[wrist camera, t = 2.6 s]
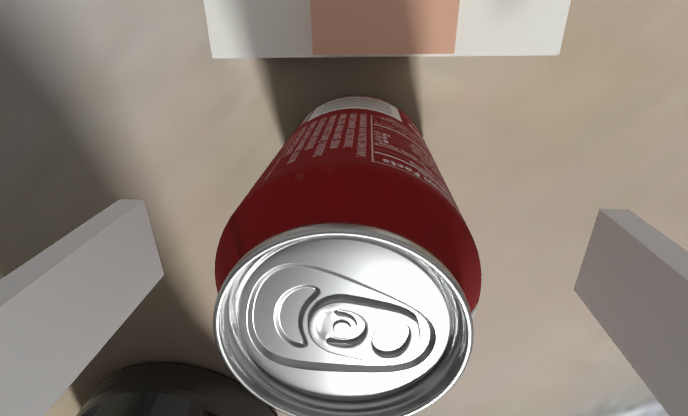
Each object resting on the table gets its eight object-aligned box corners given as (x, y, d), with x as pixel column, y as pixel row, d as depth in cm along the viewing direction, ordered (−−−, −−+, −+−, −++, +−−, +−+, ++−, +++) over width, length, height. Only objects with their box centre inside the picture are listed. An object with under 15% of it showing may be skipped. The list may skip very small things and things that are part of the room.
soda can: (302, 77, 17) (187, 158, 6) (444, 111, 17) (569, 245, 7) (281, 206, 20) (178, 413, 9) (402, 233, 20) (441, 466, 9)
